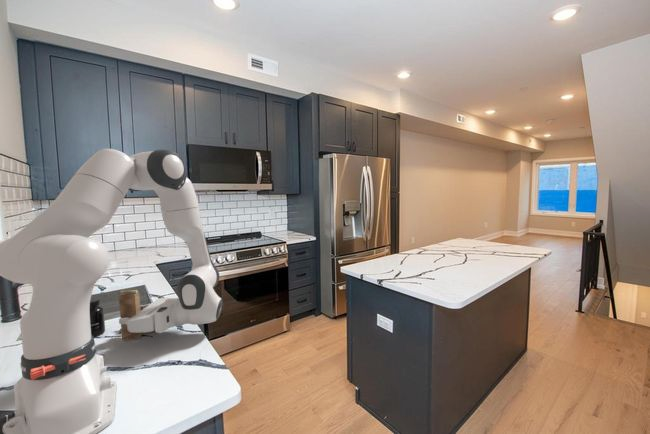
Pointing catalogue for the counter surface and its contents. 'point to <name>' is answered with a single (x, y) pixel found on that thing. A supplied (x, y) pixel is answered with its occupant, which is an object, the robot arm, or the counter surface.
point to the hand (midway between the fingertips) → (129, 314)
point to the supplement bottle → (96, 318)
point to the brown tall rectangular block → (129, 311)
